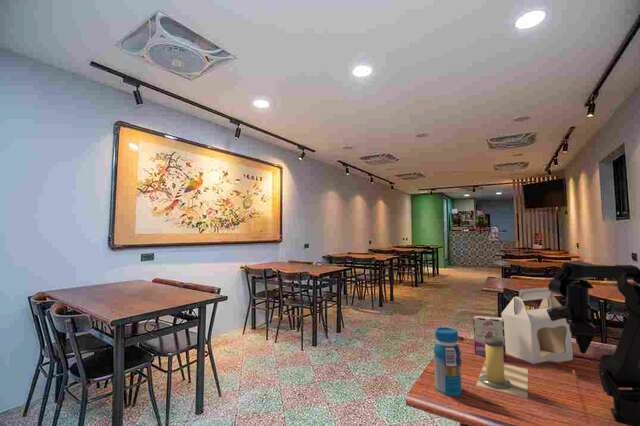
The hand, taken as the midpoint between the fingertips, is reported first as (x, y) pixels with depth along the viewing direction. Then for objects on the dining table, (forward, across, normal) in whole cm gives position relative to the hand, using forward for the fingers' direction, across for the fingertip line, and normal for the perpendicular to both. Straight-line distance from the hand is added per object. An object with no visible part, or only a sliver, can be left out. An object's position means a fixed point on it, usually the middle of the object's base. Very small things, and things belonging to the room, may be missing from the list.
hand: (580, 348), depth 103 cm
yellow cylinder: (+11, +13, -24) cm, 29 cm away
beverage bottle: (+13, +26, -36) cm, 46 cm away
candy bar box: (+13, -13, -28) cm, 34 cm away
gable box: (+13, -24, -12) cm, 30 cm away
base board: (+13, +7, -22) cm, 27 cm away
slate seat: (+12, +13, -24) cm, 30 cm away
